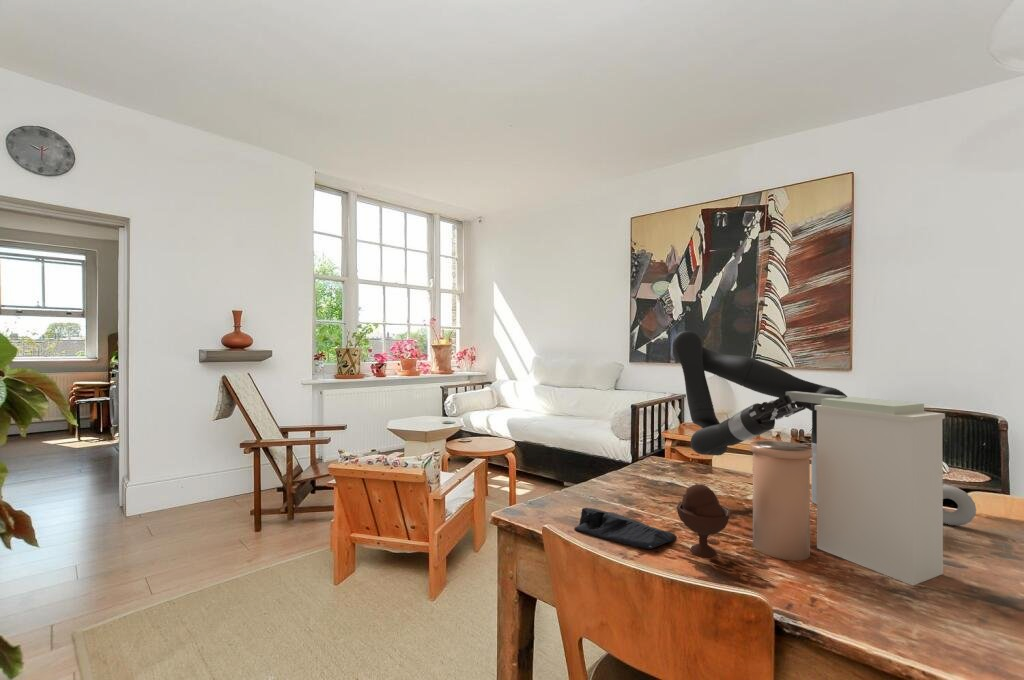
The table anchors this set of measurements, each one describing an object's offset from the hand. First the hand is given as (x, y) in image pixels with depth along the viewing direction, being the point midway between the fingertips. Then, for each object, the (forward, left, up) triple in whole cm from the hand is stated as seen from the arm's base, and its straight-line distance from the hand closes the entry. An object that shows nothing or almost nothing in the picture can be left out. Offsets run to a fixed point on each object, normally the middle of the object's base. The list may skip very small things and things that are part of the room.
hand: (801, 397), depth 115 cm
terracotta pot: (+13, +4, -33) cm, 36 cm away
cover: (0, +10, -1) cm, 10 cm away
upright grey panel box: (0, +16, -33) cm, 37 cm away
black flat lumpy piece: (+40, -17, -33) cm, 55 cm away
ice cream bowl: (+30, -2, -33) cm, 45 cm away
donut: (-40, +12, -33) cm, 53 cm away
